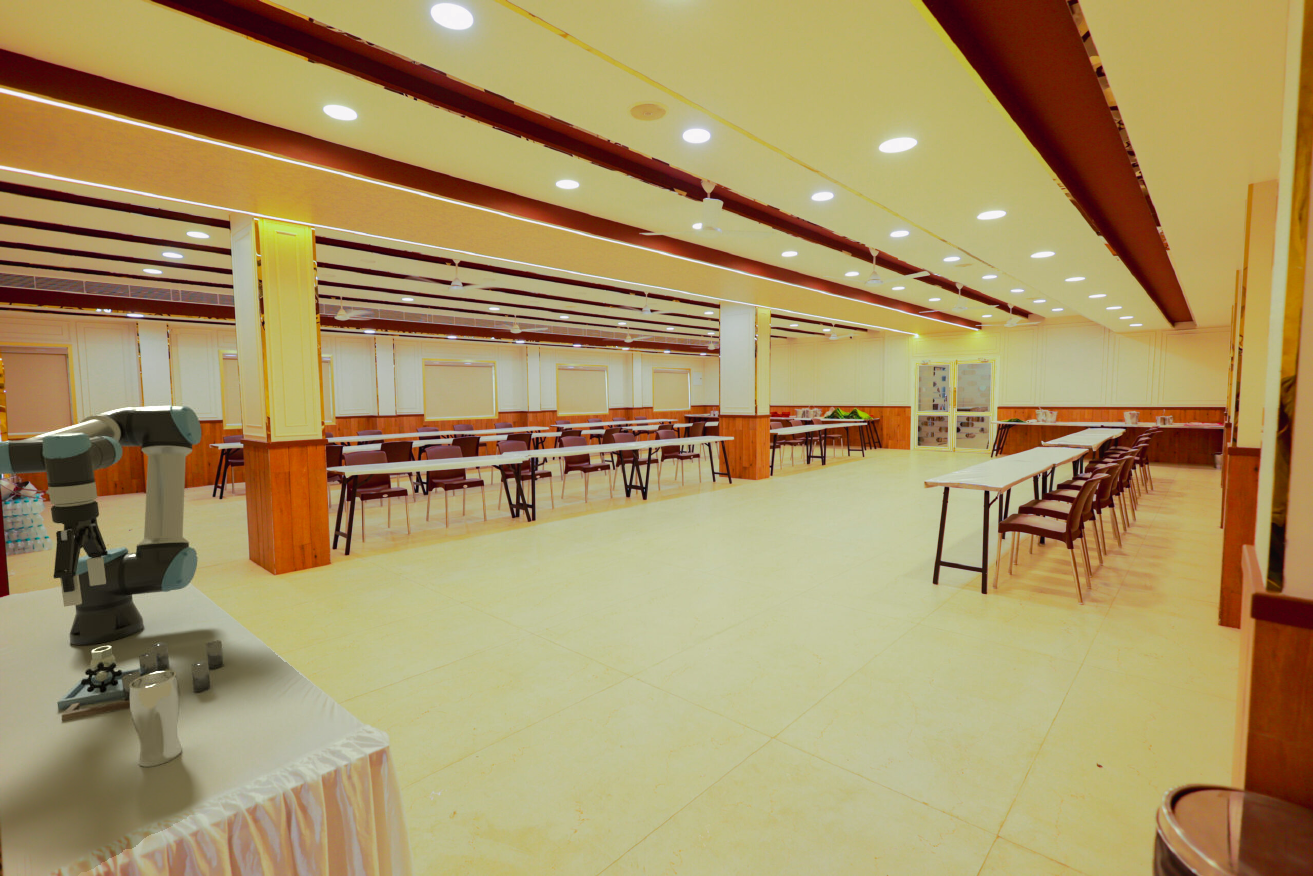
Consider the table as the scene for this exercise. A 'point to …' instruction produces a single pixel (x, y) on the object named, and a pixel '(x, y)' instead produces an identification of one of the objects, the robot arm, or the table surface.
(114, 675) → the valve
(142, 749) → the beer glass
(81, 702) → the tray
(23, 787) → the table surface
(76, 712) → the hook tool
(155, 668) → the spacers
